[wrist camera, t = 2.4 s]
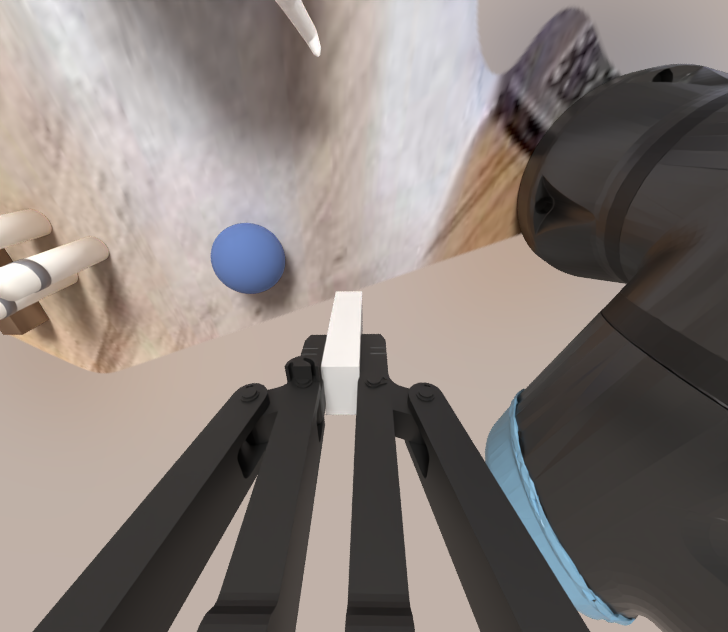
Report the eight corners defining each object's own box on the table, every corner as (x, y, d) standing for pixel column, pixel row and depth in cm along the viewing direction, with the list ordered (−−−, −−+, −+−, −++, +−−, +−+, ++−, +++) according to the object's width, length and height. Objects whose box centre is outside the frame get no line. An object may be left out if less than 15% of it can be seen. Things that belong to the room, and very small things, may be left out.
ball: (303, 240, 28) (288, 263, 23) (275, 287, 31) (256, 318, 26) (243, 202, 27) (212, 218, 21) (218, 255, 29) (186, 281, 24)
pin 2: (80, 270, 30) (-13, 312, 23) (76, 288, 31) (-14, 334, 24) (52, 256, 29) (-52, 295, 22) (49, 275, 31) (-52, 319, 23)
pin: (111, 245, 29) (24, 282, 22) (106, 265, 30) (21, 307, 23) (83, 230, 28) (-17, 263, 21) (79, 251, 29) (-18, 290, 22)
